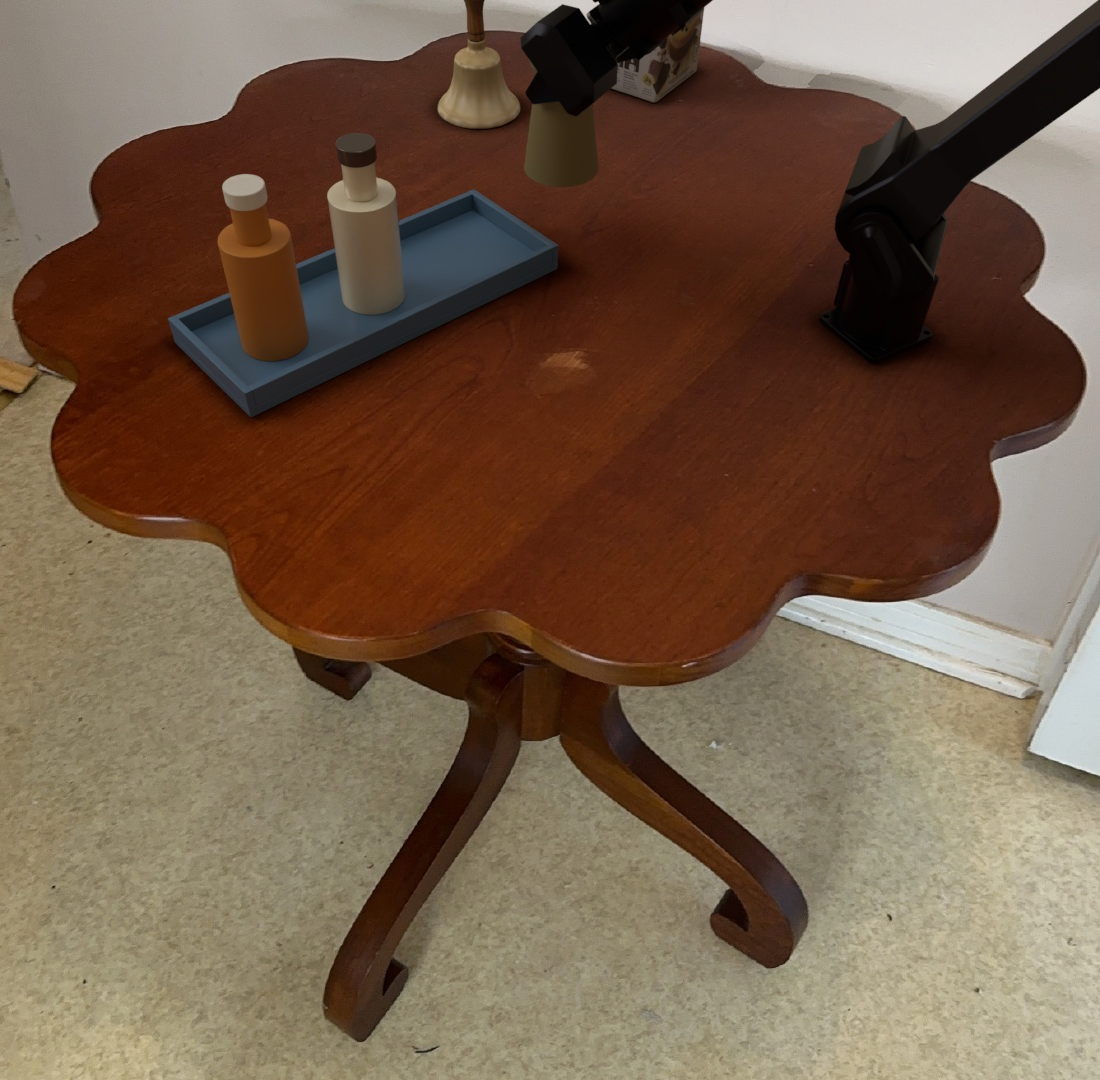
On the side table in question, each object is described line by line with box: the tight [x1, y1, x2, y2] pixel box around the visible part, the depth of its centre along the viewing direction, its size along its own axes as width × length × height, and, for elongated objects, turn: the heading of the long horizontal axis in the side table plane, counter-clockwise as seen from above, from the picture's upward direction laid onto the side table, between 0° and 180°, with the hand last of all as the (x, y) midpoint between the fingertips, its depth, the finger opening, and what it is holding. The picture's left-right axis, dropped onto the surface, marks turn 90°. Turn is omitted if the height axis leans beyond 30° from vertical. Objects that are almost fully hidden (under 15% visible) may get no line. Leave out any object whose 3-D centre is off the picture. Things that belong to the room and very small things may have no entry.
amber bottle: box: [217, 173, 309, 361], centre depth 78 cm, size 5×5×13 cm
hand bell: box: [437, 0, 521, 130], centre depth 103 cm, size 8×8×16 cm
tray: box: [167, 188, 559, 418], centre depth 87 cm, size 29×11×2 cm, turn 131°
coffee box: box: [610, 9, 705, 103], centre depth 109 cm, size 9×6×16 cm
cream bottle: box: [326, 132, 405, 315], centre depth 82 cm, size 5×5×13 cm
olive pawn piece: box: [523, 59, 599, 188], centre depth 84 cm, size 6×6×11 cm
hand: (547, 84), depth 84 cm, fingers closed on olive pawn piece, 5 cm apart
